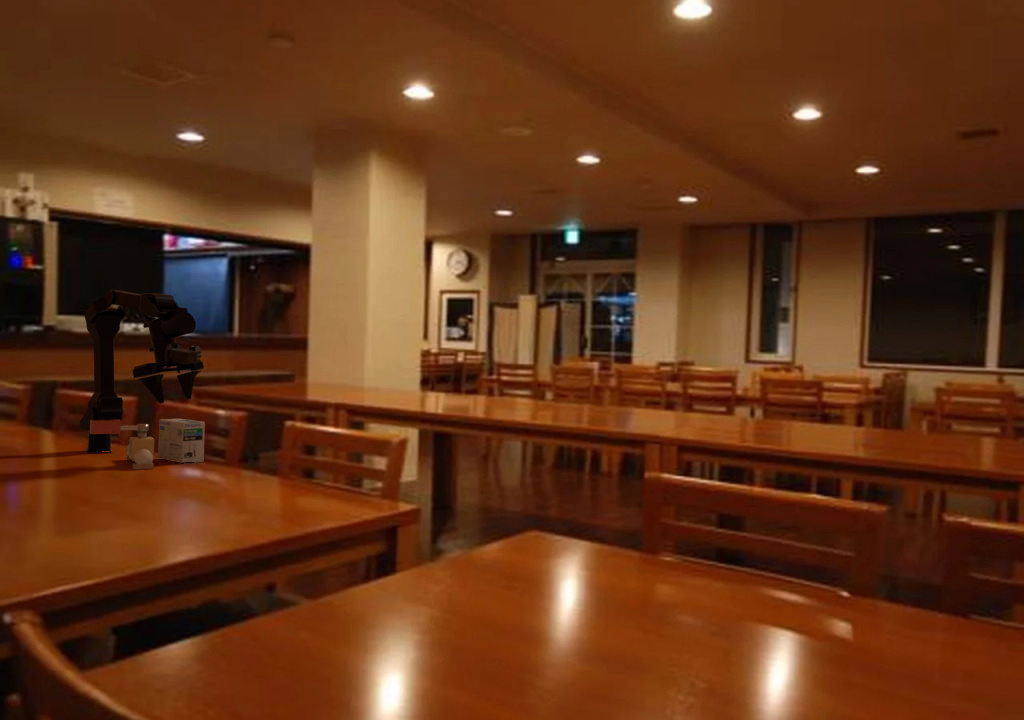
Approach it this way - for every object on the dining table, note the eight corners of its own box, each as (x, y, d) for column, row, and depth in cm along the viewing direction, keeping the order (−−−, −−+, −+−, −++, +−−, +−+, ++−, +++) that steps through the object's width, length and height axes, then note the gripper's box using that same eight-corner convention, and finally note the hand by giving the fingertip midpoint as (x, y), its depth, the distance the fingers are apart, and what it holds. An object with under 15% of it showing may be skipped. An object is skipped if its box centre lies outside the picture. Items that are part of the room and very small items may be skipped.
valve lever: (89, 432, 198) (90, 419, 198) (147, 432, 204) (148, 419, 204) (90, 434, 195) (91, 420, 195) (149, 433, 202) (149, 420, 202)
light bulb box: (204, 462, 214) (206, 421, 214) (182, 464, 208) (183, 422, 208) (178, 457, 220) (180, 417, 220) (156, 459, 214) (158, 418, 214)
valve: (124, 459, 211) (125, 426, 211) (144, 458, 214) (146, 426, 214) (132, 469, 197) (133, 434, 197) (154, 468, 199) (156, 434, 199)
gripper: (159, 336, 197) (172, 399, 196) (213, 334, 214) (225, 392, 214) (125, 345, 201) (138, 407, 200) (181, 342, 218) (193, 399, 218)
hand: (175, 401), depth 208 cm, fingers open, 9 cm apart
